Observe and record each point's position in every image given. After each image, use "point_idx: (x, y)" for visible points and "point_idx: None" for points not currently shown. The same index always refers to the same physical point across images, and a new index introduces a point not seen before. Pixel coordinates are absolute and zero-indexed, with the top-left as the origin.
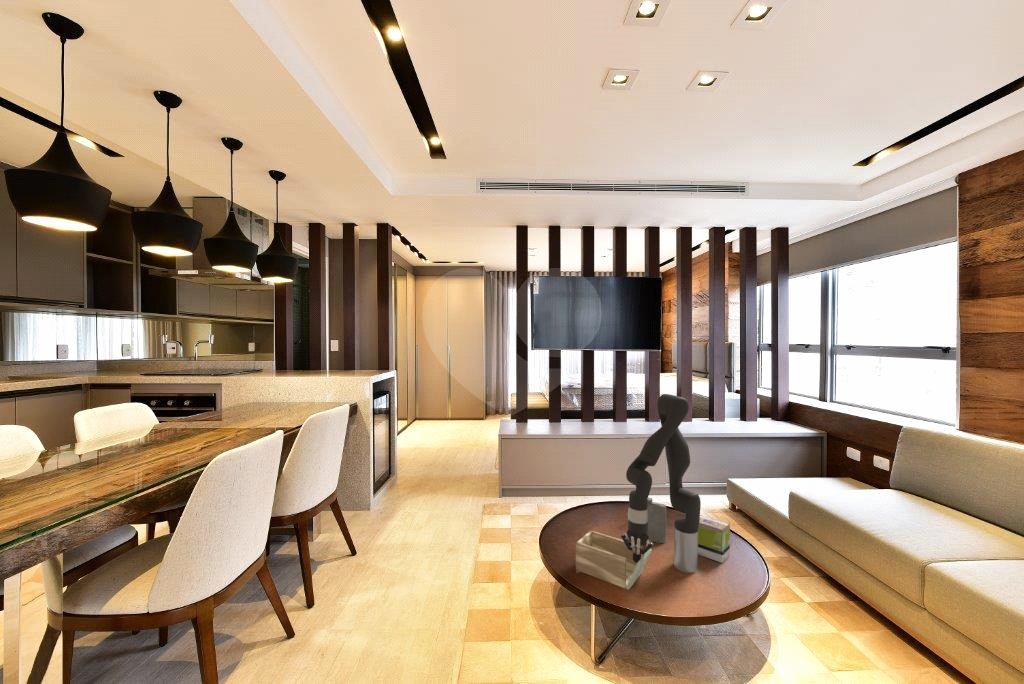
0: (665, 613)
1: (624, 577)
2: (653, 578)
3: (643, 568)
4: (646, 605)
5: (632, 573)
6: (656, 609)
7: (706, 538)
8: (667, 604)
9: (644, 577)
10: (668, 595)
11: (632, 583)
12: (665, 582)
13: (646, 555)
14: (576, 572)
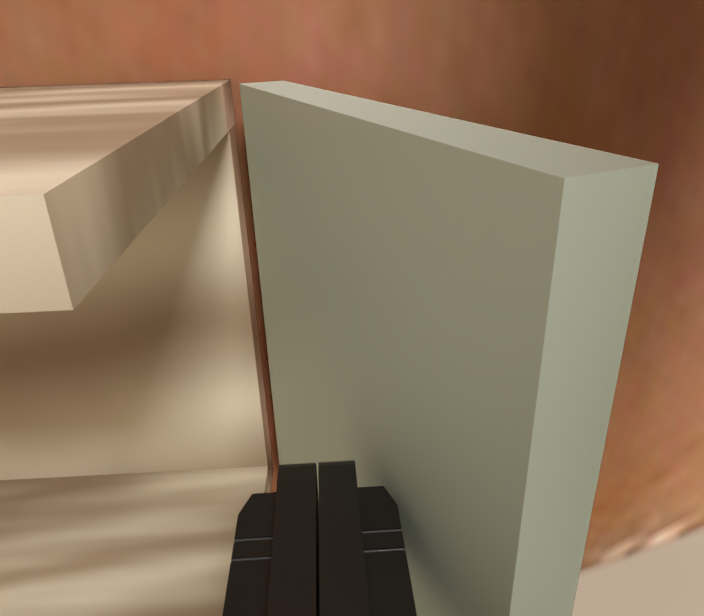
0: (673, 515)
1: None
2: (450, 22)
3: (318, 90)
4: None
5: (193, 180)
6: (597, 515)
7: None
8: (680, 407)
9: (337, 85)
10: (679, 269)
11: None
12: (619, 12)
13: (557, 594)
14: None
